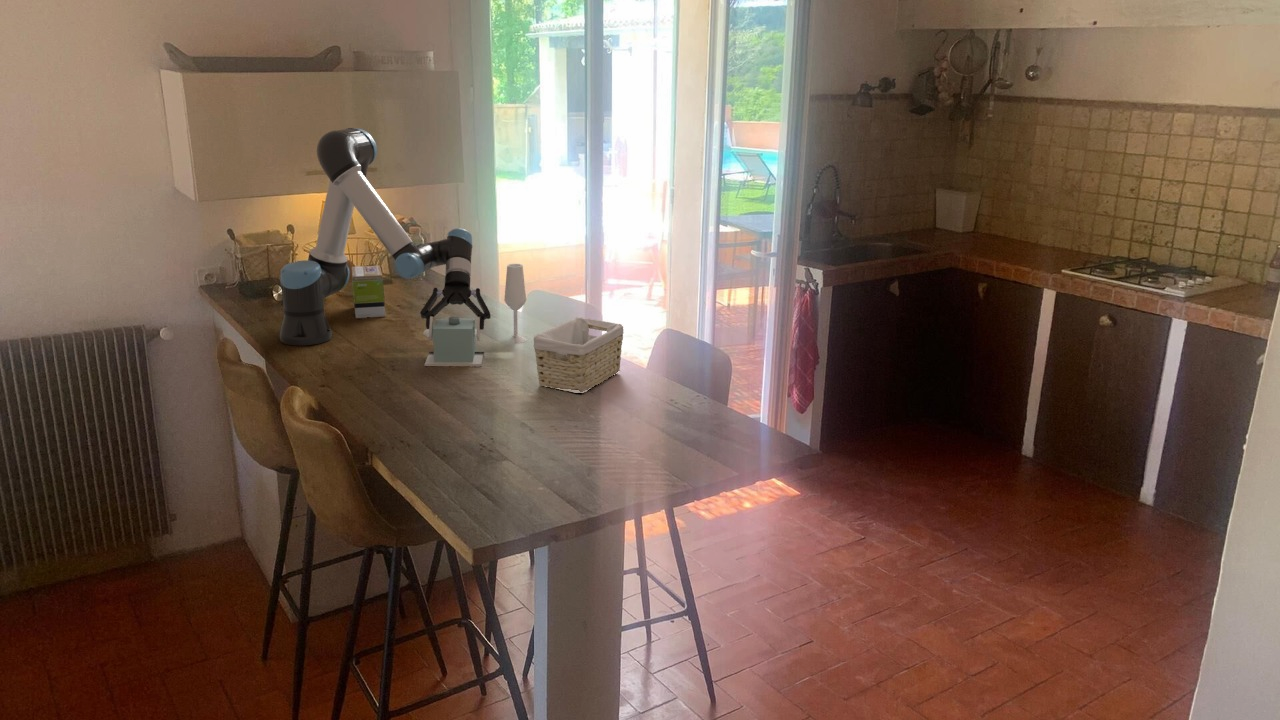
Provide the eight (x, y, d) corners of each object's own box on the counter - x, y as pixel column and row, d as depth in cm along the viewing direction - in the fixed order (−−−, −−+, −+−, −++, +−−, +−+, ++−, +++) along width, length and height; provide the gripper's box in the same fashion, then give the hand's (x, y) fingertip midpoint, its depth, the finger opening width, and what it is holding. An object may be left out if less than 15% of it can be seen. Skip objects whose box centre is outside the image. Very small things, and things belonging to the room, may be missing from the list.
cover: (472, 362, 273) (471, 323, 270) (434, 362, 272) (432, 323, 269) (475, 350, 284) (474, 313, 280) (438, 350, 283) (437, 313, 279)
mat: (481, 366, 272) (481, 363, 272) (424, 366, 271) (424, 364, 270) (484, 349, 287) (484, 347, 287) (431, 349, 286) (431, 347, 286)
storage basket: (581, 398, 250) (582, 345, 246) (530, 387, 257) (530, 335, 253) (625, 373, 270) (626, 324, 266) (576, 364, 278) (577, 315, 273)
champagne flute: (530, 339, 299) (530, 265, 291) (516, 344, 294) (515, 268, 286) (514, 335, 302) (514, 262, 295) (500, 340, 297) (499, 265, 290)
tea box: (353, 307, 329) (350, 265, 325) (383, 305, 332) (381, 264, 328) (354, 318, 316) (352, 275, 311) (386, 317, 319) (383, 274, 314)
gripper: (500, 283, 289) (498, 344, 280) (417, 282, 287) (412, 344, 277) (499, 270, 282) (496, 332, 273) (414, 268, 280) (409, 331, 271)
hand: (454, 338), depth 275 cm, fingers open, 13 cm apart
